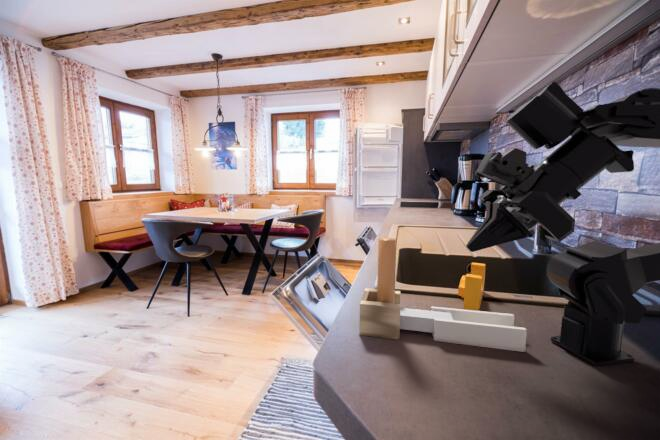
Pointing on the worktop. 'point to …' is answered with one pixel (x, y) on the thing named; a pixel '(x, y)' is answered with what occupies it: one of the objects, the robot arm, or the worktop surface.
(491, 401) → the worktop surface
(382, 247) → the slide bolt
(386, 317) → the socket
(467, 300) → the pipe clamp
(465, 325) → the sleeve
